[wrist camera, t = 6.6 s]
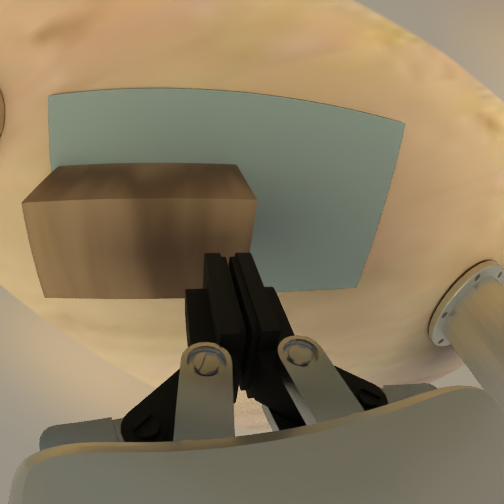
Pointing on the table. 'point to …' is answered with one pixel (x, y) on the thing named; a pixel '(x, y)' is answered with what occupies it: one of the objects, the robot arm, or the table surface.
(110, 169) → the block
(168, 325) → the table surface
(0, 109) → the candle
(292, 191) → the mat
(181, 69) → the table surface
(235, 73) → the table surface
